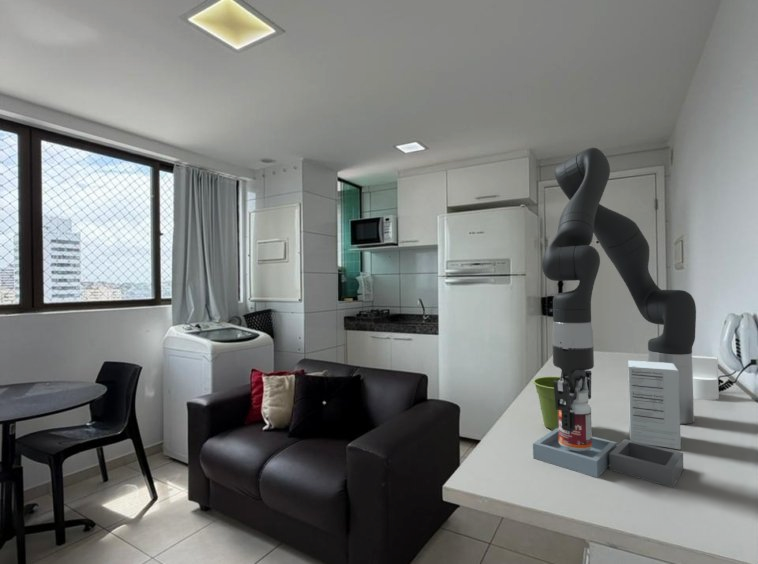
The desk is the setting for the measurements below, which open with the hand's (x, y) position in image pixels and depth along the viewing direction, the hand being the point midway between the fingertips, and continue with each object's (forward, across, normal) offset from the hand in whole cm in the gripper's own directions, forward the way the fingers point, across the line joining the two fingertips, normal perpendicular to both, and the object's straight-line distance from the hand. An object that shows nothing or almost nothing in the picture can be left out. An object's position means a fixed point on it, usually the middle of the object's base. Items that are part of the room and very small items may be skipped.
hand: (574, 425), depth 81 cm
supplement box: (+7, -22, +9) cm, 25 cm away
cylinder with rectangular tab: (+7, -71, +11) cm, 72 cm away
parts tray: (+7, 0, 0) cm, 7 cm away
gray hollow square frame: (+7, -4, +12) cm, 14 cm away
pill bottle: (+4, 0, 0) cm, 4 cm away
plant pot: (+7, -15, -9) cm, 19 cm away
